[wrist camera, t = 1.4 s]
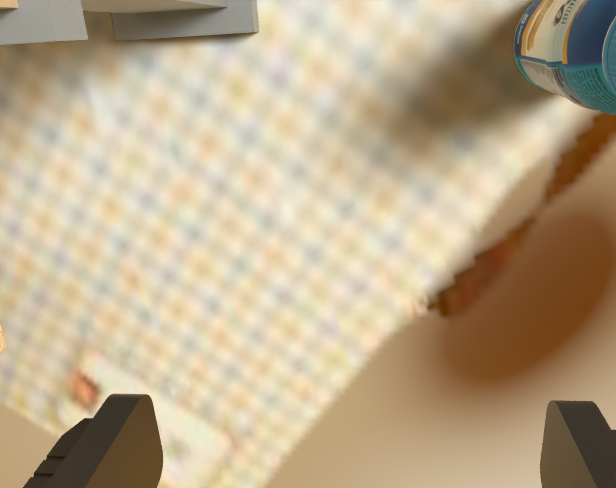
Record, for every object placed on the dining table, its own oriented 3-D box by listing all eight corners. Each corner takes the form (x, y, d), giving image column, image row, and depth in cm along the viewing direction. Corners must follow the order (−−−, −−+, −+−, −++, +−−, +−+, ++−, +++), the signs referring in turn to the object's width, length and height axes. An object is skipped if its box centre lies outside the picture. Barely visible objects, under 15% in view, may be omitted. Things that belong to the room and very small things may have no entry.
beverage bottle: (517, 104, 46) (613, 156, 28) (502, 0, 43) (598, -20, 25) (623, 77, 44) (802, 113, 26) (615, -34, 42) (808, -82, 23)
